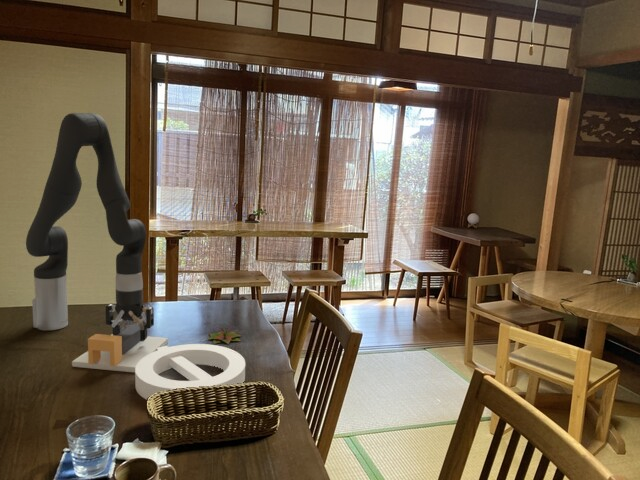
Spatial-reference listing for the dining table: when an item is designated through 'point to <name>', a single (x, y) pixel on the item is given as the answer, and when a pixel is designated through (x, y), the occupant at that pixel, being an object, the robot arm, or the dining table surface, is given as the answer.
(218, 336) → the lily flower
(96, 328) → the dining table surface
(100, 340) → the orange arch block
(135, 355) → the mat
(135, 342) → the long grey rectangular bar
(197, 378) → the ring with crossbar
